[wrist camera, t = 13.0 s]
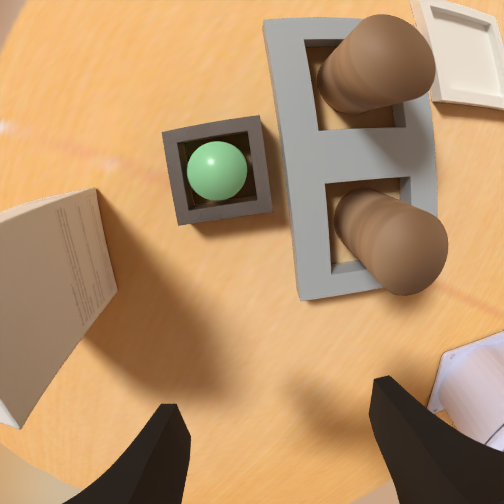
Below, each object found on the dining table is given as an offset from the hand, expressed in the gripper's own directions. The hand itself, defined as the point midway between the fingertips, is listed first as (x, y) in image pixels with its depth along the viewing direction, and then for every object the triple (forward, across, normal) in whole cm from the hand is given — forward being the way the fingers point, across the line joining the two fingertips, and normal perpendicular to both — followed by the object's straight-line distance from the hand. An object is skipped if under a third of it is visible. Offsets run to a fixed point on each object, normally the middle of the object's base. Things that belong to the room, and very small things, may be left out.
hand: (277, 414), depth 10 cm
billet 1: (+10, -6, -12) cm, 17 cm away
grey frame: (+10, -6, -8) cm, 14 cm away
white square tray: (+10, -16, -15) cm, 24 cm away
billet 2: (+10, -6, -4) cm, 13 cm away
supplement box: (+10, +13, -5) cm, 17 cm away
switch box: (+10, +2, -8) cm, 13 cm away
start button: (+11, +2, -8) cm, 13 cm away
